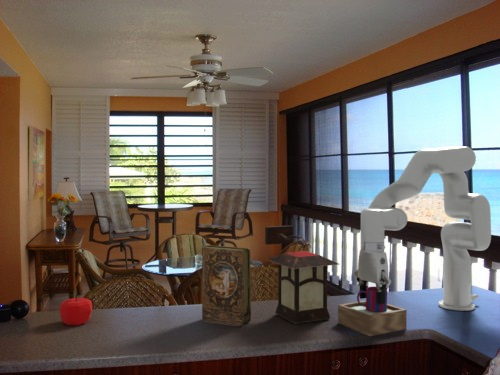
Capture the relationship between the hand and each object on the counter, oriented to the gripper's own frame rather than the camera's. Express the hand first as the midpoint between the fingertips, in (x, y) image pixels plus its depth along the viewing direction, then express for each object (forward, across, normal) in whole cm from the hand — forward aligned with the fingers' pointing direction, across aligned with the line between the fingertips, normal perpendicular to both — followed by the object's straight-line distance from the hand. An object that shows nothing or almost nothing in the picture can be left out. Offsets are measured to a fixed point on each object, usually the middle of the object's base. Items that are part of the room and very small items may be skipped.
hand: (372, 300), depth 168 cm
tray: (+8, 0, 0) cm, 8 cm away
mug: (+3, +1, 0) cm, 3 cm away
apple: (+8, +50, +84) cm, 98 cm away
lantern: (+9, +23, +14) cm, 28 cm away
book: (+9, +27, +40) cm, 49 cm away
